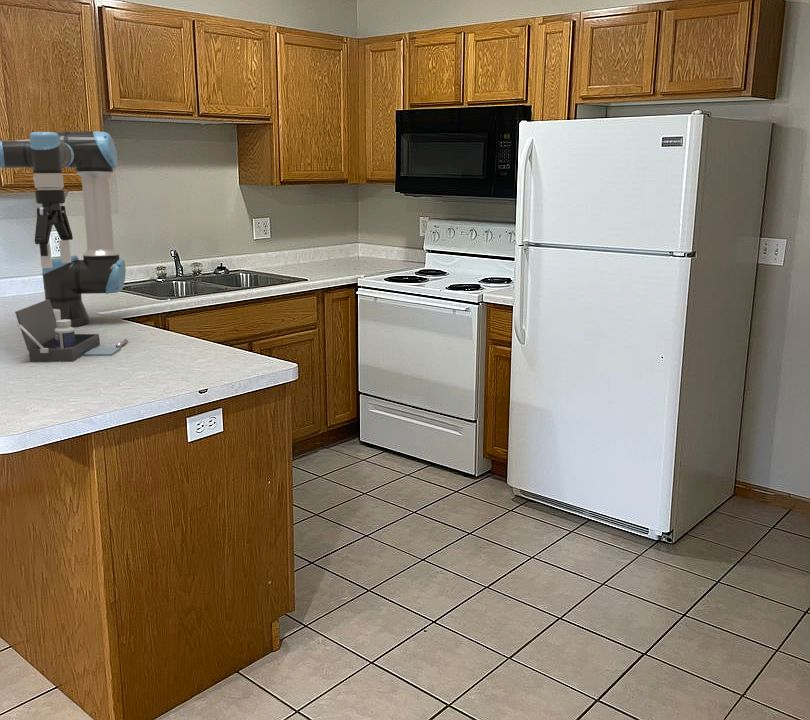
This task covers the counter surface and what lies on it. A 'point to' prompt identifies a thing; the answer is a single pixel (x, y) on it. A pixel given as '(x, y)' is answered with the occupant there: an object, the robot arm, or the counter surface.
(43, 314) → the case
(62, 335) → the pill bottle
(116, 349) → the mat
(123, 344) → the rod
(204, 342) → the counter surface
